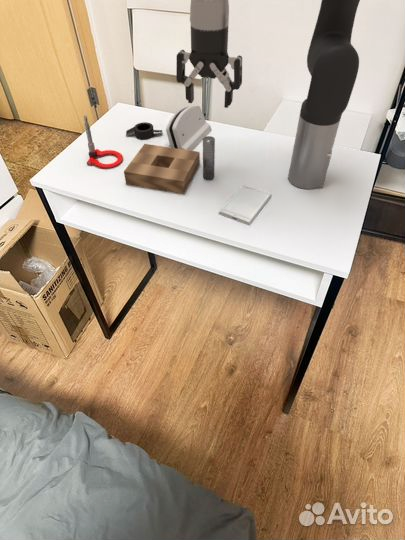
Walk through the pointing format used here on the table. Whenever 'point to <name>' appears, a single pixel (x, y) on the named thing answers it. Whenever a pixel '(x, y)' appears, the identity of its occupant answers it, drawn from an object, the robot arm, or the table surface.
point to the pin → (208, 157)
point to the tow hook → (100, 152)
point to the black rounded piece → (142, 131)
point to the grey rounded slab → (187, 128)
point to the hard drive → (245, 204)
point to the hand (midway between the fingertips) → (208, 104)
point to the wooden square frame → (162, 168)
